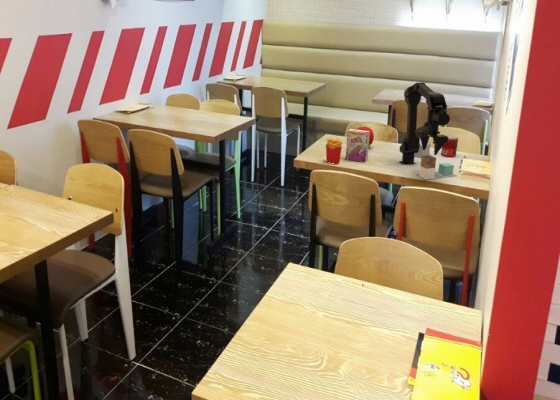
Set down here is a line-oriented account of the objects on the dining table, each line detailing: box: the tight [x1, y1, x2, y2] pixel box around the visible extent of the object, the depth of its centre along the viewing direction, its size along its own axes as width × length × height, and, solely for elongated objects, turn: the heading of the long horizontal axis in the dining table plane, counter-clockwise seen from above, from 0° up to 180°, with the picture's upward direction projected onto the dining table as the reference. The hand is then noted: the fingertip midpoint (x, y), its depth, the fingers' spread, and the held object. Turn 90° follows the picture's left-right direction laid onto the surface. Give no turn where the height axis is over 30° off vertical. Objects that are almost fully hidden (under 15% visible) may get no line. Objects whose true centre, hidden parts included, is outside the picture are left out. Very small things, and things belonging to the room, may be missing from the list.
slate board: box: [415, 171, 457, 181], centre depth 266 cm, size 9×19×1 cm, turn 111°
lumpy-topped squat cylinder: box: [414, 139, 431, 159], centre depth 300 cm, size 10×13×9 cm
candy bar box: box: [345, 128, 370, 163], centre depth 287 cm, size 11×5×16 cm, turn 65°
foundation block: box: [419, 166, 436, 179], centre depth 263 cm, size 5×5×5 cm
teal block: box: [437, 162, 455, 176], centre depth 267 cm, size 5×5×5 cm
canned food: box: [440, 134, 459, 158], centre depth 298 cm, size 8×8×11 cm
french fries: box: [325, 137, 343, 165], centre depth 283 cm, size 9×4×13 cm, turn 51°
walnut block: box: [420, 154, 437, 169], centre depth 262 cm, size 5×5×5 cm
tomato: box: [356, 126, 375, 147], centre depth 310 cm, size 11×11×13 cm
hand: (429, 152), depth 260 cm, fingers open, 9 cm apart
